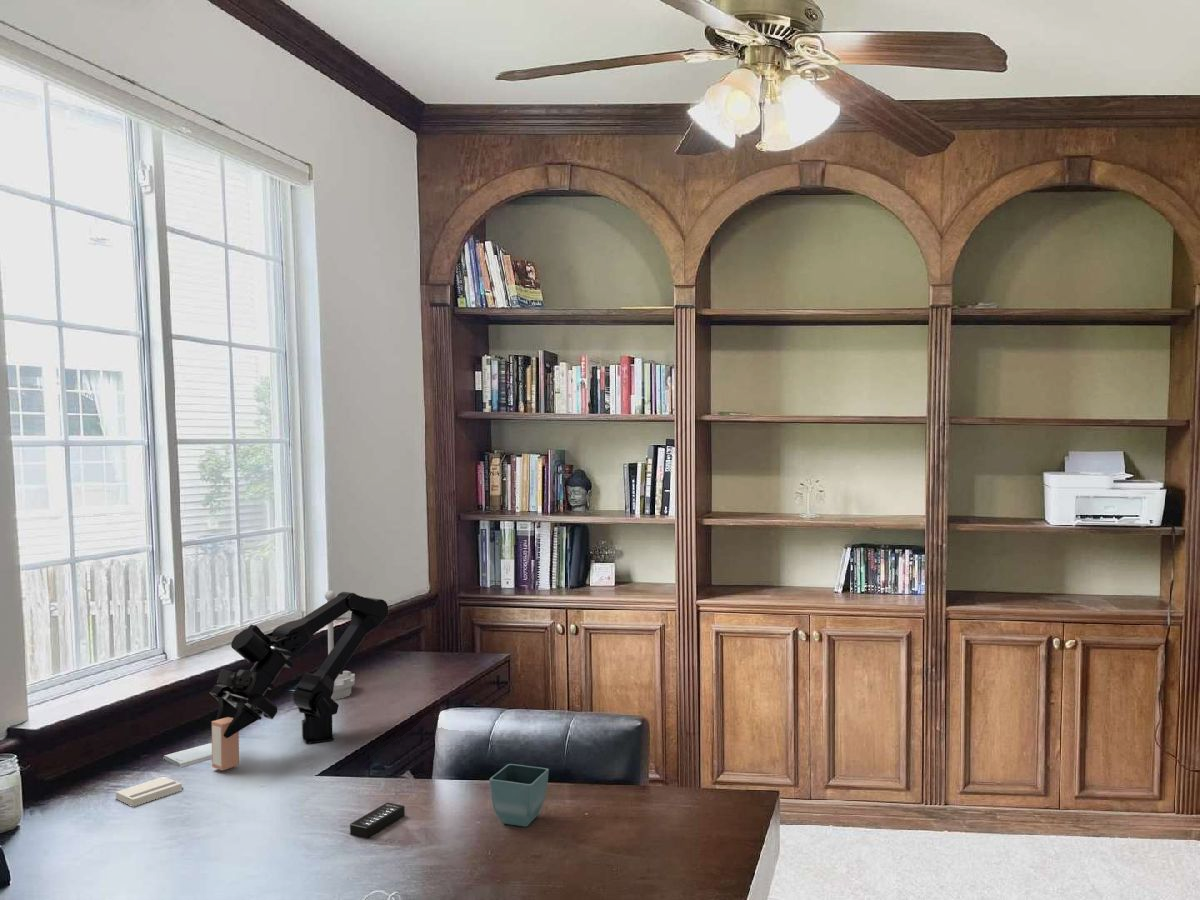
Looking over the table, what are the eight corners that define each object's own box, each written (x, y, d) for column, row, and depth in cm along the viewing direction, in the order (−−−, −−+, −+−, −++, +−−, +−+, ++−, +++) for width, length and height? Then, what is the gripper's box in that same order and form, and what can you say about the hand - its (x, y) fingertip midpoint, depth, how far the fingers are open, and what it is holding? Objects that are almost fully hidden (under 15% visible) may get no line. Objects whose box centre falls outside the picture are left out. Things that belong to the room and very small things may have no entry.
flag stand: (320, 687, 262) (318, 586, 261) (362, 689, 260) (360, 586, 260) (299, 700, 249) (297, 594, 248) (343, 702, 247) (341, 594, 247)
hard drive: (179, 763, 198) (233, 747, 208) (163, 755, 203) (216, 740, 213) (179, 770, 198) (233, 754, 208) (163, 762, 203) (216, 747, 213)
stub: (228, 761, 199) (228, 716, 199) (239, 764, 197) (238, 719, 197) (211, 766, 196) (211, 721, 196) (222, 770, 194) (221, 724, 194)
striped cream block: (167, 782, 189) (166, 775, 189) (184, 789, 185) (184, 782, 185) (115, 799, 181) (115, 791, 181) (133, 807, 177) (132, 799, 177)
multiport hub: (349, 836, 163) (348, 824, 163) (387, 813, 173) (387, 801, 173) (368, 840, 161) (368, 828, 161) (405, 817, 171) (405, 805, 171)
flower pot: (550, 814, 171) (549, 767, 171) (532, 833, 163) (531, 784, 162) (509, 808, 174) (508, 762, 174) (488, 827, 165) (488, 779, 165)
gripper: (216, 649, 205) (171, 709, 196) (264, 660, 194) (218, 723, 185) (248, 675, 211) (205, 734, 203) (296, 687, 200) (253, 750, 192)
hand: (219, 735), depth 195 cm, fingers open, 4 cm apart
